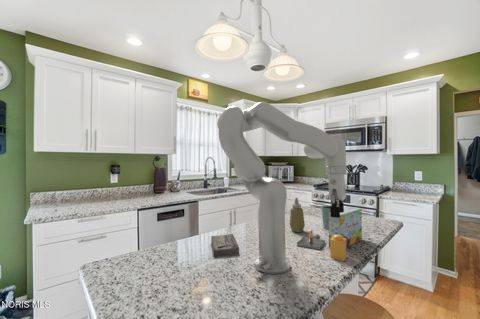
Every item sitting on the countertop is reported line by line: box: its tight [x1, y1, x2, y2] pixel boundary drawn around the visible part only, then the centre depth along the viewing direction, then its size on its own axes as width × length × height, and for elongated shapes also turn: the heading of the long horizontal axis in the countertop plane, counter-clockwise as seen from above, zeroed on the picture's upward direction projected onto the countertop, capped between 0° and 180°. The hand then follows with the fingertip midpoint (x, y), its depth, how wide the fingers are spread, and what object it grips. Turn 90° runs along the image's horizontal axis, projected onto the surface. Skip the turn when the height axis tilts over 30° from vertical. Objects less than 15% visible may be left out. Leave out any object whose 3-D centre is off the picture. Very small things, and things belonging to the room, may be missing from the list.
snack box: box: [328, 206, 363, 248], centre depth 104 cm, size 21×6×15 cm, turn 129°
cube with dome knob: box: [329, 234, 347, 262], centre depth 89 cm, size 5×5×8 cm
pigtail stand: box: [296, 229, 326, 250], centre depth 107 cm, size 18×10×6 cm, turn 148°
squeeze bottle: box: [289, 197, 306, 233], centre depth 124 cm, size 8×8×18 cm
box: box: [210, 233, 240, 257], centre depth 101 cm, size 11×17×3 cm, turn 11°
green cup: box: [321, 205, 330, 231], centre depth 128 cm, size 10×10×12 cm
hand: (337, 214), depth 89 cm, fingers open, 9 cm apart
